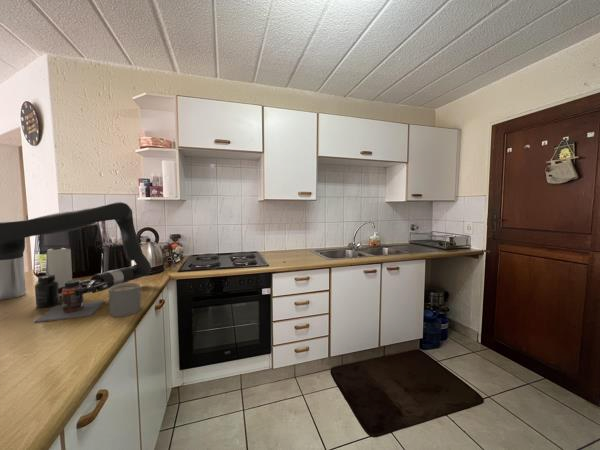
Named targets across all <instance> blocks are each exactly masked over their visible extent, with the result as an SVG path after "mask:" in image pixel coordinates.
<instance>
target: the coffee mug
mask: <svg viewBox="0 0 600 450" xmlns="http://www.w3.org/2000/svg"><path fill="white" fill-rule="evenodd" d="M108 298H109V299H108V302H109V305H108V306H109V316H110V317H113V318H123V317H128V316H131V314H132V315H135V314H136V312H137V313H138V312H140V311H141V309H142V305H141V301H142V300H141V284H140V283H139V282H125V283H122V284H118V285H115V286H112V287H110V288H109V289H108ZM134 313H135V314H134Z"/></svg>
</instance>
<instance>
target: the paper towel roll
mask: <svg viewBox="0 0 600 450" xmlns="http://www.w3.org/2000/svg"><path fill="white" fill-rule="evenodd" d="M71 252H72V251H71V248H65V247H55V248H49V249H47V251H46V253H47V268H48V269H47V270H48V272H47V273H48V275H55V281H57V282H58V283H59V288H60V287H64V286H65V282H67V281H71V280H73V271H72V253H71ZM59 297H62V293H61V294H59Z"/></svg>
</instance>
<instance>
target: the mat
mask: <svg viewBox="0 0 600 450" xmlns="http://www.w3.org/2000/svg"><path fill="white" fill-rule="evenodd" d="M83 304H84V307H83V308H82V309H80V310H78V311H74V312H64V311H63V304H60V305H58V304H57V305H54V306H52V308H50V309H49V310H47V311H46V312H45V313H43V314H42V315H41V316H40V317H38V318H37V319H35V320H34V324H35V323H43V322H52V321H53V322H54V321H60V320H68V319H77V318H85V317H92V316H93V315H94V314H95V313H96V312H97V311H98V310H99V308H100V307H102V305H104V304H105V300H99V301H96V300H95V301H89V302H83Z"/></svg>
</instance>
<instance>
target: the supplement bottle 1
mask: <svg viewBox="0 0 600 450" xmlns="http://www.w3.org/2000/svg"><path fill="white" fill-rule="evenodd" d="M58 288H59V283H58V282H57V281H55V275H49V274H48V275H42V276H38V277H37V284H35V285H34V293H35V307H37V308H40V309H43V308H49V307H55V306H57V305H58V304H60V301H61V300H60V296H59V294H58V293H57V289H58Z"/></svg>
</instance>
